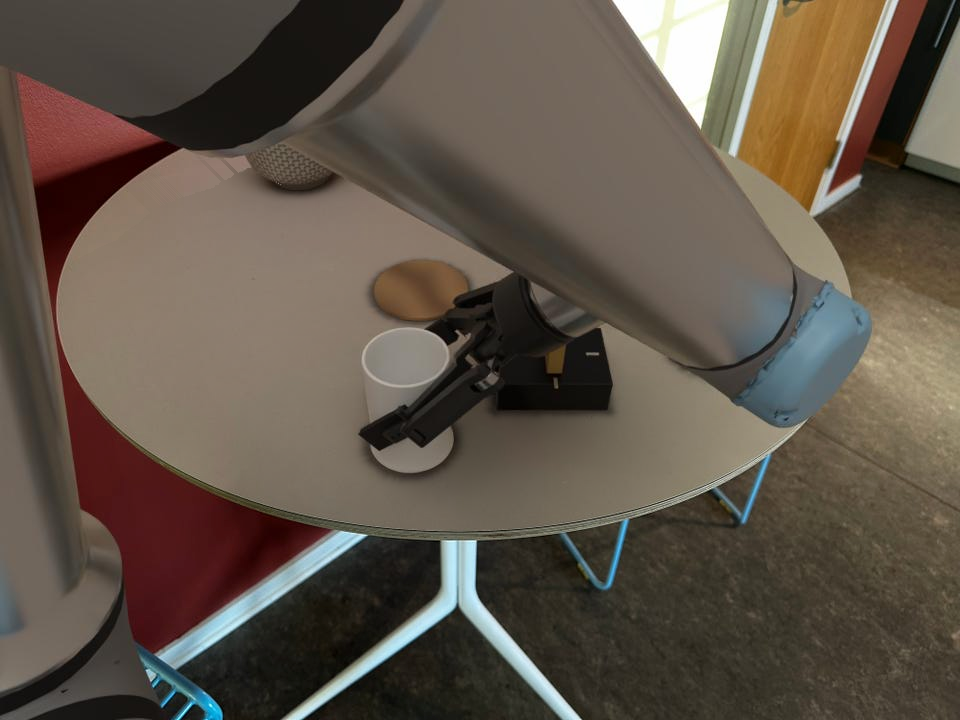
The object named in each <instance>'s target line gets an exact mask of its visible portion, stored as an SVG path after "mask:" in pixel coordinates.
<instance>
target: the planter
mask: <svg viewBox="0 0 960 720" xmlns="http://www.w3.org/2000/svg"><path fill="white" fill-rule="evenodd" d="M244 157H245V158H246V160H247V162H248V164H249V165H250V166H251V168H252V169H253V171H254V172H256V173H257V174H259V175H260V176H262V177H264V178H265V179H267V180H270V181H272V182H273V183H274V184H275V185H277V187H280V188H282V189H285V190H289V191H297V192H298V191H307V190H312V189H315V188H318V187H320V186H322V185H324V184H325V183H326V182H327V181H328V180H329V178H330V176H331V175H333V173H334V172H333V171H331V170H329V169H327V168H325V167H324V166H322V165H320V164H318V163H316V162H315V161H313V160H311V159H309V158H307V157H306V156H304V155H302V154H300V153H298V152H297V151H295V150H293V149H291V148H289V147H288V146H286V145H284V144H282V143H278V144H276V145H273V146H271V147H268V148H266V149H263V150H261V151H259V152H256V153H252V154H248V155H244ZM276 182H277V183H276ZM278 183H279V184H278ZM280 184H281V185H280Z"/></svg>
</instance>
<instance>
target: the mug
mask: <svg viewBox="0 0 960 720" xmlns="http://www.w3.org/2000/svg"><path fill="white" fill-rule="evenodd" d="M424 329H425V328H418V327H409V326H408V327H407V326H406V327H397V328H393V329H392V328H391V329H388V330H387V331H386V330H385V331H383V332H381V333H379V334H378V335H375V337H373V338H371V340H370V341H369V342H367V344H366V345H365V347H364V348H363V351H362V353H361V369H362V375H363V383H364V390H365V398H366V405H367V410H368V411H367V412H368V419H369V424H370V423H372V422H374V421H376V420H377V419H379V418H381V417H383V416H384V415H386V414H388V413H390V412H392V411H394V410H396V409H397V408H398V407H399V406H402V405H404V404H405V405H406V406H407V407H408V408H409V407H410V406H411V405H412V404H413V403H414V402H415V401H416V400H417V399H418V398H419V397H420V396H421V395H422V393H423V392H424V391H425V390H426V389H427V388H428V387H429V386H430V385H431V384H432V383H433V382H434V381H435V380H436V379H437V378H438V377H439V376H440V375H441V374H442V373H443V372H444V371H445V370H446V369H447V368H448V367H449V366H450V365H451V357H450V350H449V347H448V346H447V345H446V343H445V342H444V341H443V340H442V339H441V338H440V337H439V336H437V335H436V334H434V333H432V332H430V331H427V330H424ZM454 438H455V437H454V432H453V429H452V425H451V426H450V427H448V428H447V429H446V430H445V431H444V432H442V433H441V434H440V435H439V436H437V437H436V438H435V439H434V440H432V441H431V442H430V443H429V444H427V445H426V446H425V447H423V448H420V447H419V446H418V445H416V444H415V443H414V442H413V441H412V440H410V439H409V438H406V439H404V440H402V441H400V442H398V443H394V444H392V445H390V446H388V447H386V448H384V449H383V450H381V451H378V450H377V449H376V448H374V447H373V446H372V445H371V444H369V446H370V450H371V452H372V455H373V457H374V458H375V459H376V461H377V462H378V463H380V464H381V465H382V466H383V467H385V468H387V469H389V470H391V471H394V472H397V473H403V474H416V473H422V472H425V471H426V472H427V471H429V470H431V469H433V468H436V467H438V465H440V464H441V463H443V462H444V461H445V460H446V458H447V457H448V456H449V455H450V453H451V451H452V449H453V445H454V440H455V439H454Z"/></svg>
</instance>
